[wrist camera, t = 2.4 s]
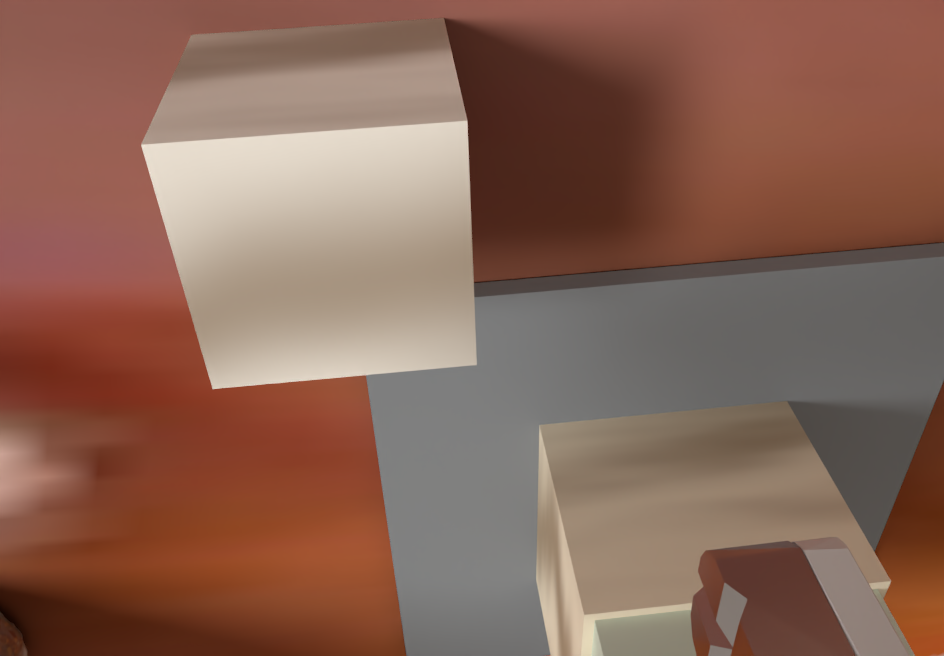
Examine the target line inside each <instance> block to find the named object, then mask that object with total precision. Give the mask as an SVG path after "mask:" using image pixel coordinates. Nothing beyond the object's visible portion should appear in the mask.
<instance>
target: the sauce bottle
mask: <svg viewBox="0 0 944 656" xmlns="http://www.w3.org/2000/svg"><path fill="white" fill-rule="evenodd" d="M27 653H28V650H27V647H26V646H25V644H24V642H23V635H22V634H21V632H20V630H19V629H17V628H16V626H15V625H14V623H12V622H10V621H9V620H8V619H6V618H5V617H4V615H3V614H2V613H1V612H0V656H28V655H27Z"/></svg>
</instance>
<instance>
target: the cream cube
mask: <svg viewBox="0 0 944 656" xmlns="http://www.w3.org/2000/svg"><path fill="white" fill-rule="evenodd" d="M141 146H142V149H143V153H144V156H145V159H146V163H147V166H148V170H149V173H150V177H151V180H152V183H153V187H154V190H155V194H156V197H157V200H158V204H159V207H160V211H161V214H162V217H163V221H164V224H165V228H166V231H167V235H168V238H169V241H170V245H171V248H172V252H173V255H174V258H175V262H176V265H177V269H178V272H179V275H180V279H181V282H182V286H183V289H184V293H185V296H186V299H187V303H188V306H189V310H190V313H191V316H192V320H193V323H194V327H195V330H196V333H197V337H198V340H199V344H200V347H201V351H202V354H203V357H204V361H205V364H206V368H207V371H208V374H209V378H210V381H211V385H212V388H213V389H218V388H229V387H240V386H251V385H262V384H273V383H284V382H295V381H306V380H317V379H328V378H339V377H350V376H361V375H372V374H383V373H394V372H405V371H416V370H427V369H438V368H449V367H460V366H472V365H477V356H476V330H475V304H474V278H473V252H472V227H471V201H470V175H469V149H468V123H467V117H466V112H465V108H464V104H463V99H462V95H461V91H460V86H459V82H458V77H457V73H456V69H455V64H454V60H453V56H452V51H451V47H450V43H449V38H448V34H447V29H446V25H445V21H444V18H435V19H420V20H405V21H390V22H375V23H361V24H346V25H331V26H316V27H301V28H286V29H271V30H256V31H241V32H226V33H211V34H197V35H191V37H190V39H189V42H188V44H187V46H186V48H185V50H184V52H183V55H182V57H181V59H180V61H179V63H178V66H177V68H176V70H175V72H174V74H173V76H172V79H171V81H170V83H169V85H168V87H167V90H166V92H165V94H164V96H163V98H162V100H161V103H160V105H159V107H158V109H157V111H156V114H155V116H154V118H153V120H152V122H151V124H150V127H149V129H148V131H147V133H146V135H145V138H144V140H143V142H142V144H141Z"/></svg>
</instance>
